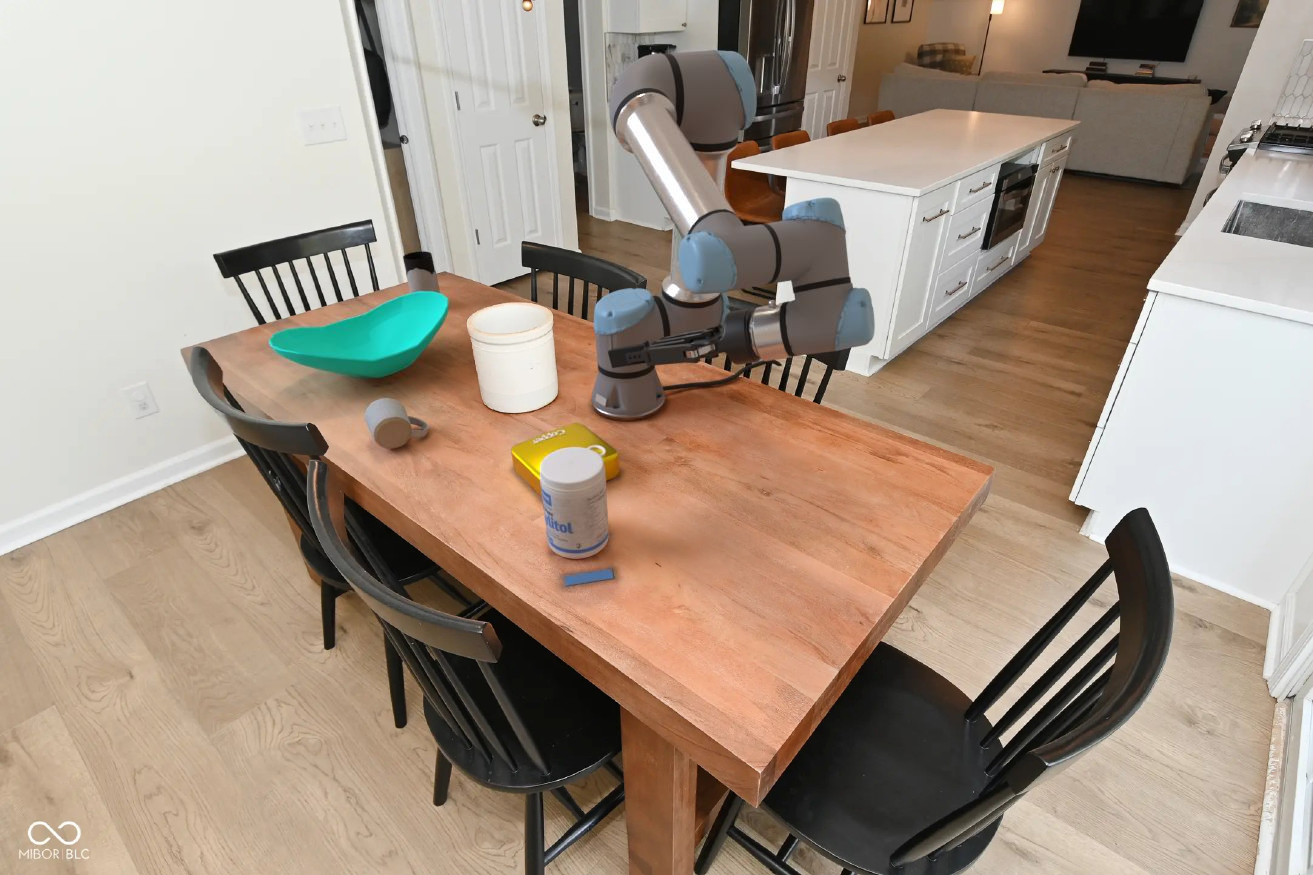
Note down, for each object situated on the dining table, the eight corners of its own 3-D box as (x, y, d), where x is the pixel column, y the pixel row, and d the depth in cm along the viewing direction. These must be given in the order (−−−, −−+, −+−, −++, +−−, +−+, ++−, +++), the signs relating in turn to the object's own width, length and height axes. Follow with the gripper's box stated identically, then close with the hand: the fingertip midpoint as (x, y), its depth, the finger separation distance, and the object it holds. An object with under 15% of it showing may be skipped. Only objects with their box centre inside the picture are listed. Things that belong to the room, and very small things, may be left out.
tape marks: (597, 500, 115) (597, 500, 115) (613, 578, 99) (613, 577, 99) (555, 506, 114) (555, 505, 114) (565, 586, 98) (565, 585, 98)
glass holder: (409, 315, 187) (396, 261, 179) (420, 296, 199) (409, 245, 191) (441, 313, 188) (430, 259, 180) (450, 295, 200) (440, 244, 192)
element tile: (580, 438, 132) (578, 417, 129) (624, 474, 121) (622, 451, 119) (510, 466, 124) (506, 444, 122) (550, 506, 114) (547, 483, 111)
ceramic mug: (378, 456, 128) (368, 421, 124) (369, 436, 134) (360, 402, 130) (434, 440, 133) (427, 406, 128) (423, 422, 139) (416, 388, 134)
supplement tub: (536, 550, 105) (524, 473, 97) (569, 515, 112) (560, 440, 104) (590, 569, 101) (582, 489, 93) (621, 531, 108) (616, 454, 100)
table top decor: (316, 424, 139) (296, 366, 131) (268, 381, 155) (248, 327, 148) (483, 361, 162) (474, 308, 155) (426, 329, 179) (415, 280, 171)
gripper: (764, 298, 99) (623, 325, 110) (738, 318, 88) (585, 346, 99) (774, 348, 101) (635, 369, 112) (750, 373, 90) (599, 394, 101)
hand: (612, 358), depth 105 cm, fingers closed
